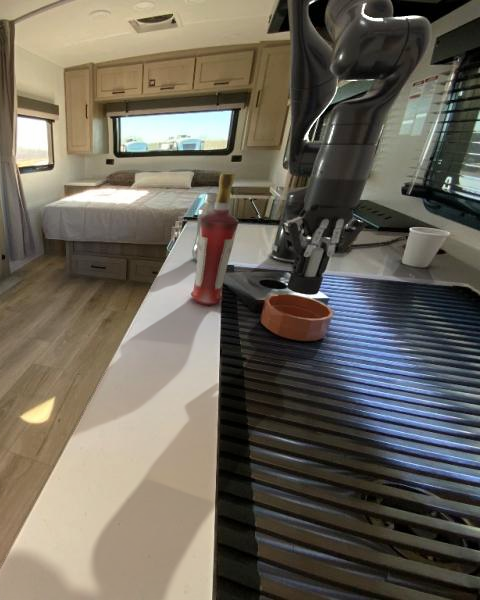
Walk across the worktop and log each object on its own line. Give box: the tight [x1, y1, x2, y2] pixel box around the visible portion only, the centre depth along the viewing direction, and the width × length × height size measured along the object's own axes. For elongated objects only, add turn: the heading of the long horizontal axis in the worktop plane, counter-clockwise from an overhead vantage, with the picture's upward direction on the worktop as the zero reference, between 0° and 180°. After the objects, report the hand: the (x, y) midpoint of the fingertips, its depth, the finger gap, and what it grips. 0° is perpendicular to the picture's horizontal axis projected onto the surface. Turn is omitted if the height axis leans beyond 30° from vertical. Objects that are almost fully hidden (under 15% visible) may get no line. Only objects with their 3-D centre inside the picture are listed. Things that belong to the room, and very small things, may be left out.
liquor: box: [190, 172, 239, 306], centre depth 71 cm, size 7×7×28 cm
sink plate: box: [223, 270, 330, 313], centre depth 79 cm, size 16×16×3 cm
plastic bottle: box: [191, 192, 218, 261], centre depth 98 cm, size 6×7×20 cm
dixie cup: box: [401, 226, 451, 268], centre depth 96 cm, size 8×8×10 cm
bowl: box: [259, 294, 335, 342], centre depth 65 cm, size 11×11×5 cm
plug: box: [287, 246, 324, 295], centre depth 61 cm, size 5×5×8 cm
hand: (307, 274), depth 61 cm, fingers closed on plug, 2 cm apart
